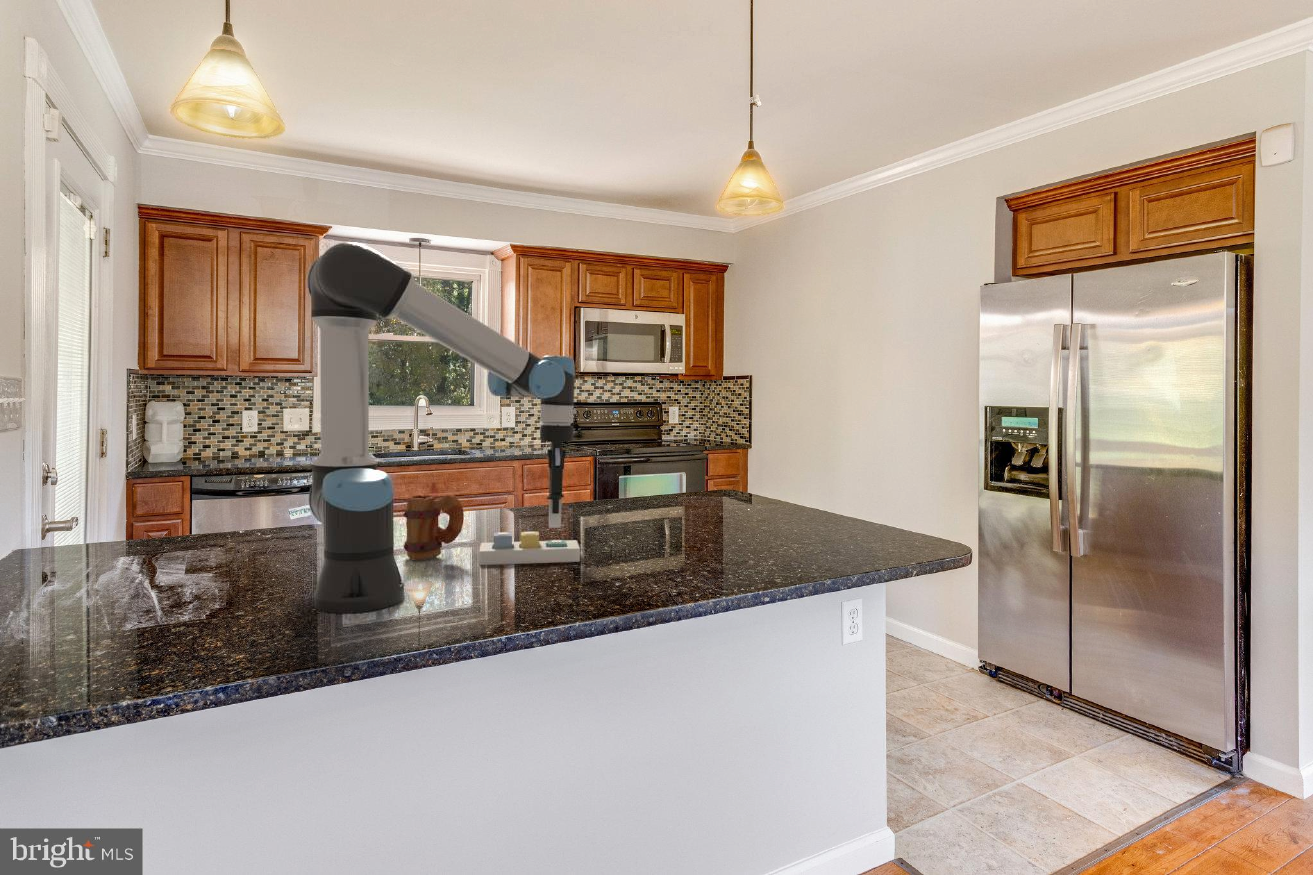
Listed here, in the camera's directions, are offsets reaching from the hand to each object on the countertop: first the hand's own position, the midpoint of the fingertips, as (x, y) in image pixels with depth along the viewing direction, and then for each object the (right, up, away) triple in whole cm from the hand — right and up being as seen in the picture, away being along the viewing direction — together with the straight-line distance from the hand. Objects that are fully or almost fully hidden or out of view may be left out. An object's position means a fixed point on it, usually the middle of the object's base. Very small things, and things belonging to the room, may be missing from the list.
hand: (554, 526), depth 165 cm
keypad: (-6, -7, -1) cm, 9 cm away
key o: (-12, -5, -2) cm, 13 cm away
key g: (0, -7, +1) cm, 7 cm away
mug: (-27, -7, -2) cm, 28 cm away
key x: (-6, -5, -1) cm, 7 cm away
